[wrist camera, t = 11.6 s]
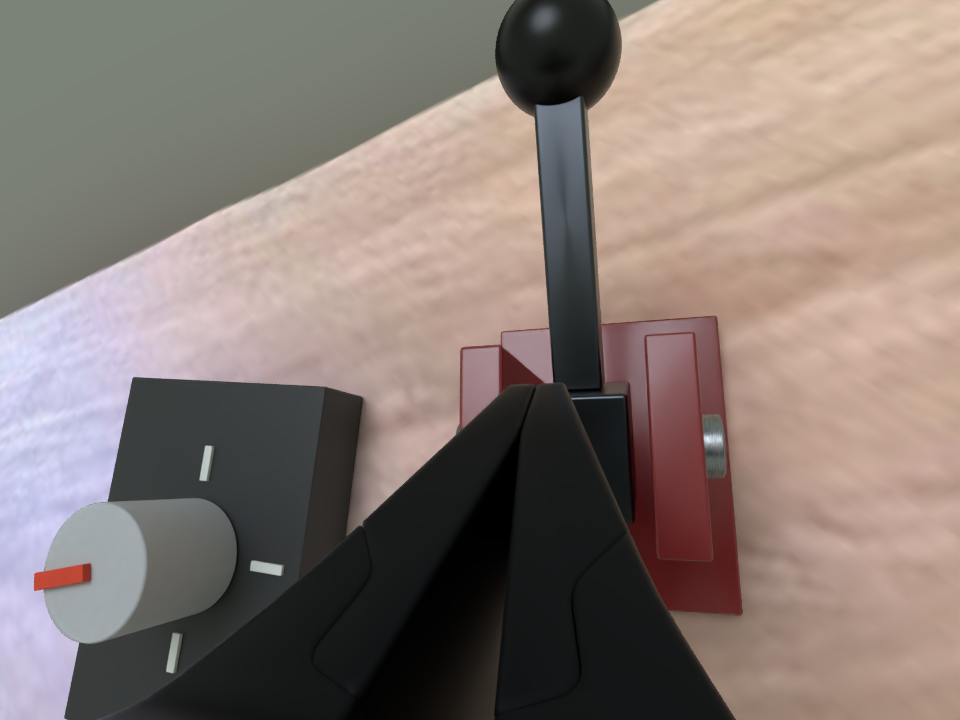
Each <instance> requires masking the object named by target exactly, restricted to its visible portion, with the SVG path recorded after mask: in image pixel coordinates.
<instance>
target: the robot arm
mask: <svg viewBox="0 0 960 720" xmlns="http://www.w3.org/2000/svg"><path fill="white" fill-rule="evenodd" d="M97 720H736V719H735V718H734V716H733V715H732V713H731V711H730V710H729V708H728V707H727V705H726V703H725V702H724V700H723V699H722V697H721V695H720V694H719V692H718V691H717V689H716V687H715V686H714V684H713V683H712V681H711V679H710V678H709V676H708V675H707V673H706V671H705V670H704V668H703V667H702V665H701V664H700V662H699V660H698V659H697V657H696V656H695V654H694V652H693V651H692V649H691V648H690V646H689V644H688V643H687V641H686V640H685V638H684V636H683V635H682V633H681V631H680V630H679V628H678V626H677V624H676V623H675V621H674V619H673V617H672V616H671V614H670V612H669V610H668V609H667V607H666V605H665V603H664V602H663V600H662V598H661V597H660V595H659V593H658V591H657V589H656V587H655V585H654V583H653V581H652V579H651V576H650V574H649V572H648V570H647V568H646V566H645V564H644V562H643V560H642V558H641V556H640V553H639V551H638V549H637V547H636V544H635V542H634V540H633V538H632V536H631V535H630V532H629V529H628V527H627V525H626V522H625V520H624V518H623V515H622V513H621V511H620V509H619V506H618V504H617V502H616V499H615V497H614V495H613V493H612V490H611V488H610V486H609V484H608V481H607V479H606V477H605V474H604V472H603V470H602V468H601V465H600V463H599V461H598V458H597V456H596V454H595V452H594V449H593V447H592V445H591V442H590V440H589V438H588V436H587V433H586V431H585V429H584V426H583V424H582V422H581V420H580V417H579V415H578V413H577V410H576V408H575V406H574V404H573V401H572V399H571V397H570V395H569V392H568V390H567V388H566V386H565V384H564V383H542V384H539V385H537V387H536V386H535V385H534V384H519V385H510V386H508V387H507V388H506V389H505V390H504V391H503V392H501V393H500V394H499V395H498V396H497V397H496V398H495V399H494V400H493V401H492V402H491V403H490V404H489V405H488V406H486V407H485V408H484V409H483V410H482V411H481V412H480V413H479V414H478V415H477V416H476V417H475V418H474V419H473V420H472V421H470V422H469V423H468V424H467V425H466V426H465V427H464V428H463V429H462V430H461V431H460V432H459V433H458V434H457V435H455V436H454V437H453V438H452V439H451V440H450V441H449V442H448V443H447V444H446V445H445V446H444V447H443V448H442V449H440V450H439V451H438V452H437V453H436V454H435V455H434V456H433V457H432V458H431V459H430V460H429V461H428V462H427V463H425V464H424V465H423V466H422V467H421V468H420V469H419V470H418V471H417V472H416V473H415V474H414V475H413V476H412V477H410V478H409V479H408V480H407V481H406V482H405V483H404V484H403V485H402V486H401V487H400V488H399V489H398V490H397V491H395V492H394V493H393V494H392V495H391V496H390V497H389V498H388V499H387V500H386V501H385V502H384V503H383V504H382V505H381V506H379V507H378V508H377V509H376V510H375V511H374V512H373V513H372V514H371V515H370V516H369V517H368V518H367V519H366V520H364V522H363V527H362V526H358V527H357V528H356V529H355V530H353V531H352V532H351V533H350V534H349V535H348V536H347V537H346V538H345V539H344V540H343V541H342V542H341V543H340V544H338V545H337V546H336V547H335V548H334V549H333V550H332V551H331V552H329V553H328V554H327V555H326V556H325V557H324V558H323V559H322V560H321V561H319V562H318V563H317V564H316V565H315V566H314V567H313V568H312V569H310V570H309V571H308V572H307V573H306V574H305V575H303V576H302V577H301V578H300V579H298V580H297V581H296V582H295V583H294V584H292V585H291V586H290V587H289V588H288V589H286V590H285V591H284V592H283V593H281V594H280V595H279V596H278V597H277V598H275V599H274V600H273V601H272V602H270V603H269V604H268V605H267V606H265V607H264V608H263V609H262V610H260V611H259V612H258V613H257V614H255V615H254V616H253V617H252V618H250V619H249V620H248V621H247V622H245V623H244V624H243V625H241V626H240V627H239V628H238V629H236V630H235V631H234V632H233V633H231V634H230V635H229V636H228V637H226V638H225V639H224V640H223V641H221V642H220V643H219V644H217V645H216V646H215V647H214V648H212V649H211V650H210V651H209V652H207V653H206V654H205V655H204V656H202V657H201V658H200V659H199V660H197V661H196V662H195V663H193V664H192V665H191V666H190V667H188V668H187V669H186V670H185V671H183V672H182V673H181V674H179V675H178V676H177V677H175V678H174V679H173V680H171V681H170V682H169V683H167V684H166V685H165V686H163V687H162V688H160V689H158V690H157V691H155V692H154V693H152V694H151V695H149V696H147V697H146V698H144V699H142V700H140V701H138V702H137V703H135V704H133V705H131V706H129V707H127V708H125V709H122V710H120V711H118V712H115V713H113V714H111V715H108V716H106V717H103V718H100V719H97Z"/></svg>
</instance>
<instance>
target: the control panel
mask: <svg viewBox="0 0 960 720" xmlns="http://www.w3.org/2000/svg"><path fill="white" fill-rule="evenodd" d="M361 404H362V397H361V396H357V395H353V394H350V393H346V392H342V391H339V390H335V389H332V388H328V387H320V386H300V385H280V384H260V383H240V382H220V381H200V380H180V379H160V378H140V377H134V378H133V379H132V384H131V389H130V394H129V399H128V404H127V409H126V414H125V419H124V424H123V429H122V434H121V439H120V444H119V449H118V453H117V458H116V463H115V468H114V473H113V478H112V483H111V488H110V493H109V498H108V502H118V501H140V500H163V499H185V498H200V499H205V500H208V501H210V502H212V503H214V504H215V505H217V506H218V507H219V508H220V509H222V511H223V512H224V513H225V514H226V515H227V517H228V518H229V520H230V522H231V524H232V527H233V529H234V532H235V537H236V543H237V559H236V565H235V570H234V573H233V577H232V579H231V581H230V584H229V586H228V587H227V589H226V591H225V592H224V593H223V595H222V596H221V597H220V598H219V599H218V601H217V602H216V603H215V604H213V605H212V606H211V607H210V608H208V609H206V610H205V611H202V612H200V613H197V614H194V615H191V616H187V617H184V618H180V619H177V620H174V621H170V622H167V623H164V624H160V625H157V626H153V627H150V628H147V629H143V630H140V631H137V632H133V633H130V634H126V635H123V636H120V637H116V638H113V639H110V640H106V641H103V642H99V643H94V644H85V643H79V647H78V652H77V657H76V662H75V667H74V672H73V677H72V682H71V687H70V692H69V697H68V702H67V707H66V711H65V716H64V718H65V719H68V720H97V719H100V718H103V717H106V716H108V715H111V714H113V713H115V712H118V711H120V710H122V709H125V708H127V707H129V706H131V705H133V704H135V703H137V702H138V701H140V700H142V699H144V698H146V697H147V696H149V695H151V694H152V693H154V692H155V691H157V690H158V689H160V688H162V687H163V686H165V685H166V684H167V683H169V682H170V681H171V680H173V679H174V678H175V677H177V676H178V675H179V674H181V673H182V672H183V671H185V670H186V669H187V668H188V667H190V666H191V665H192V664H193V663H195V662H196V661H197V660H199V659H200V658H201V657H202V656H204V655H205V654H206V653H207V652H209V651H210V650H211V649H212V648H214V647H215V646H216V645H217V644H219V643H220V642H221V641H223V640H224V639H225V638H226V637H228V636H229V635H230V634H231V633H233V632H234V631H235V630H236V629H238V628H239V627H240V626H241V625H243V624H244V623H245V622H247V621H248V620H249V619H250V618H252V617H253V616H254V615H255V614H257V613H258V612H259V611H260V610H262V609H263V608H264V607H265V606H267V605H268V604H269V603H270V602H272V601H273V600H274V599H275V598H277V597H278V596H279V595H280V594H281V593H283V592H284V591H285V590H286V589H288V588H289V587H290V586H291V585H292V584H294V583H295V582H296V581H297V580H298V579H300V578H301V577H302V576H303V575H305V574H306V573H307V572H308V571H309V570H310V569H312V568H313V567H314V566H315V565H316V564H317V563H318V562H319V561H321V560H322V559H323V558H324V557H325V556H326V555H327V554H328V553H329V552H331V551H332V550H333V549H334V548H335V547H336V546H337V545H338V544H340V543H341V542H342V541H343V540H344V539H345V531H346V524H347V516H348V508H349V500H350V492H351V484H352V476H353V468H354V460H355V452H356V444H357V436H358V428H359V420H360V412H361Z"/></svg>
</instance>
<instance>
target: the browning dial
mask: <svg viewBox="0 0 960 720" xmlns="http://www.w3.org/2000/svg"><path fill="white" fill-rule="evenodd" d="M236 559H237V543H236V537H235V532H234V529H233V527H232V524H231V522H230V520H229V518H228V517H227V515H226V514H225V513H224V512H223V511H222V509H220V508H219V507H218V506H217V505H215V504H214V503H212V502H210V501H208V500H205V499H200V498H185V499H163V500H140V501H118V502H100V503H94V504H91V505H88V506H86V507H84V508H82V509H80V510H79V511H77V512H76V513H74V514H73V515H72V516H71V517H70V518H69V519H68V520H67V521H66V522H65V523H64V524H63V525H62V527H61V528H60V530H59V531H58V533H57V534H56V536H55V538H54V540H53V542H52V544H51V547H50V549H49V552H48V555H47V559H46V563H45V569H44V572H38V573H35V574H34V591H37V590H42V589H44V597H45V602H46V606H47V609H48V612H49V615H50V617H51V619H52V621H53V622H54V624H55V625H56V627H57V628H58V629H59V630H60V632H61V633H63V634H64V635H65V636H66V637H68V638H69V639H71V640H73V641H76V642H79V643H85V644H94V643H99V642H103V641H106V640H110V639H113V638H116V637H120V636H123V635H126V634H130V633H133V632H137V631H140V630H143V629H147V628H150V627H153V626H157V625H160V624H164V623H167V622H170V621H174V620H177V619H180V618H184V617H187V616H191V615H194V614H197V613H200V612H202V611H205V610H206V609H208V608H210V607H211V606H212V605H213V604H215V603H216V602H217V601H218V599H219V598H220V597H221V596H222V595H223V593H224V592H225V591H226V589H227V587H228V586H229V584H230V581H231V579H232V577H233V573H234V570H235V565H236Z"/></svg>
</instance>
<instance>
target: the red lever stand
mask: <svg viewBox="0 0 960 720" xmlns="http://www.w3.org/2000/svg"><path fill="white" fill-rule="evenodd" d="M601 326H602V342H603V357H604V373H605V382H615V381H627V382H629V383H630V389H631V405H632V421H633V437H634V454H635V470H636V486H637V491H636V512H635V521H634V523H633V524H626V525H627V527H628V529H629V532H630V535H631V536H632V538H633V540H634V542H635V544H636V547H637V549H638V551H639V553H640V556H641V558H642V560H643V562H644V564H645V566H646V568H647V570H648V572H649V574H650V576H651V579H652V581H653V583H654V585H655V587H656V589H657V591H658V593H659V595H660V597H661V598H662V600H663V602H664V603H665V605H666V607H667V609H668V610H671V611H686V612H700V613H715V614H729V615H742V613H743V610H742V599H741V587H740V576H739V564H738V553H737V541H736V530H735V518H734V507H733V495H732V484H731V472H730V461H729V449H728V438H727V426H726V414H725V403H724V391H723V380H722V368H721V357H720V345H719V334H718V322H717V317H716V316H705V317H692V318H678V319H665V320H651V321H638V322H624V323H611V324H601ZM542 383H553V373H552V359H551V344H550V330H549V328H543V329H530V330H516V331H503V332H501V345H486V346H471V347H463V348H461V351H460V424H459V426H458V428H457V431H456V435H457V434H458V433H459V432H460V431H461V430H462V429H463V428H464V427H465V426H466V425H467V424H468V423H469V422H470V421H472V420H473V419H474V418H475V417H476V416H477V415H478V414H479V413H480V412H481V411H482V410H483V409H484V408H485V407H486V406H488V405H489V404H490V403H491V402H492V401H493V400H494V399H495V398H496V397H497V396H498V395H499V394H500V393H501V392H503V391H504V390H505V389H506V388H507V387H508V386H510V385H519V384H534V385H535V386H536V387H537V385H539V384H542Z"/></svg>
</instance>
